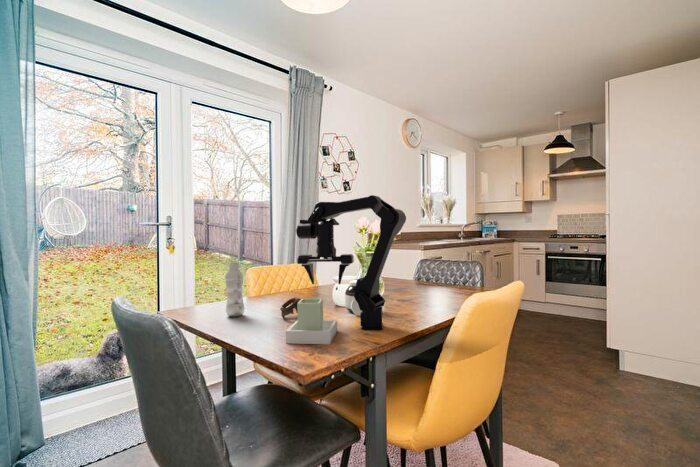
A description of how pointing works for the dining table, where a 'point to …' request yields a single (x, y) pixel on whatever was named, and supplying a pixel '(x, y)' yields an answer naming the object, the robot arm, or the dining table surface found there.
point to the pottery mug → (289, 309)
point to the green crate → (310, 314)
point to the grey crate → (312, 334)
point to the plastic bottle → (234, 290)
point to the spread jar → (352, 299)
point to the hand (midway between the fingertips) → (326, 284)
